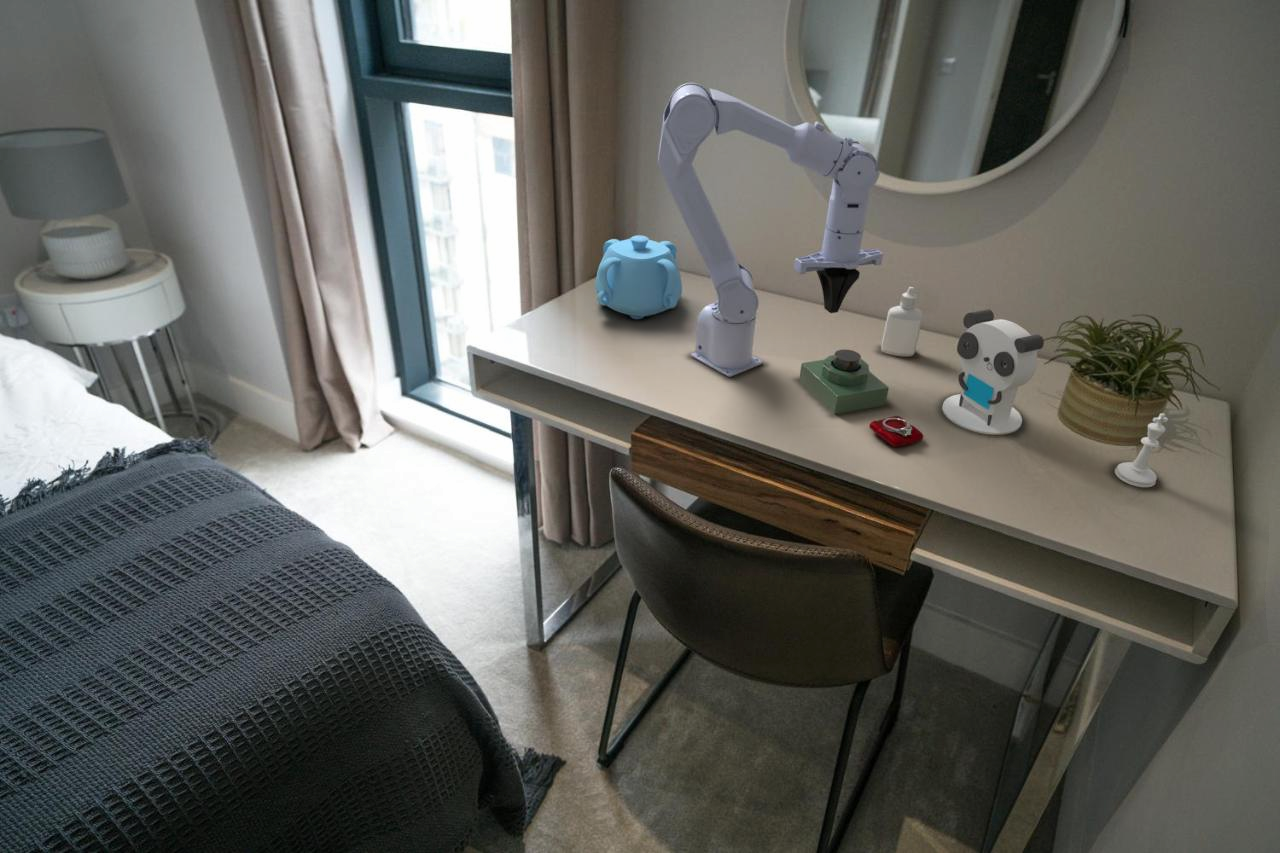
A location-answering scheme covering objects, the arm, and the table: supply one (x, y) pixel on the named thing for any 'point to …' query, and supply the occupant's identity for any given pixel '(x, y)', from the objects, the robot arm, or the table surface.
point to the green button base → (843, 386)
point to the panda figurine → (991, 373)
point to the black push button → (846, 360)
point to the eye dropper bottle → (902, 327)
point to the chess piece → (1143, 458)
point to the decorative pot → (638, 276)
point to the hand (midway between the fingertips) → (831, 310)
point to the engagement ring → (896, 431)
